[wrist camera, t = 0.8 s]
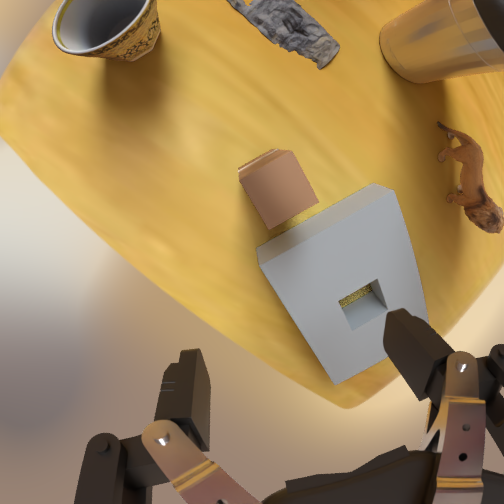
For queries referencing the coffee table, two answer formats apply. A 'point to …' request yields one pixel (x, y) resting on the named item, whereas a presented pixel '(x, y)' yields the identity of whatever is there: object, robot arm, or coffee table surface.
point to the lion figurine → (472, 184)
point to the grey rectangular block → (346, 278)
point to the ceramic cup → (107, 28)
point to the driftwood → (290, 28)
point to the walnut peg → (277, 186)
